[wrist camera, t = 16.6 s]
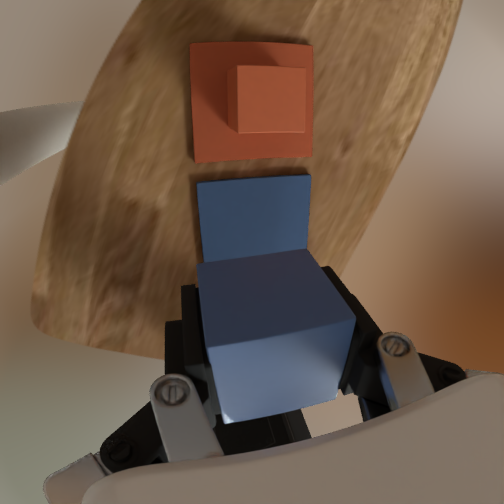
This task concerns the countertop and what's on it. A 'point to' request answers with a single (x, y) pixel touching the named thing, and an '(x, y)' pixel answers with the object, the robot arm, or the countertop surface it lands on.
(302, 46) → the terracotta mat
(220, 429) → the tall black tower box
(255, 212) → the slate mat
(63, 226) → the countertop surface
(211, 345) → the slate block
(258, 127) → the terracotta block
